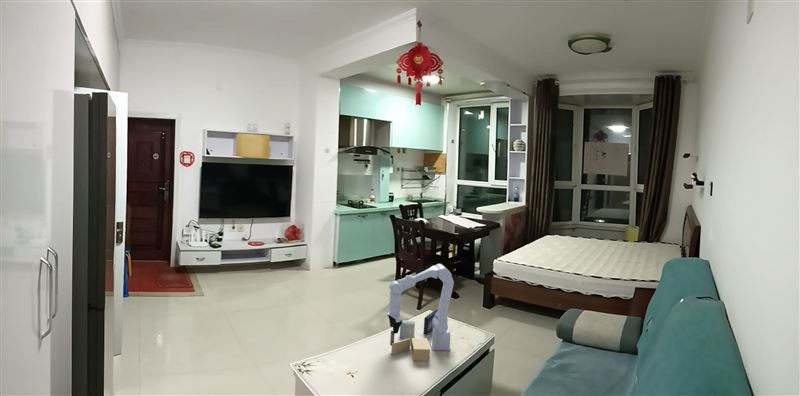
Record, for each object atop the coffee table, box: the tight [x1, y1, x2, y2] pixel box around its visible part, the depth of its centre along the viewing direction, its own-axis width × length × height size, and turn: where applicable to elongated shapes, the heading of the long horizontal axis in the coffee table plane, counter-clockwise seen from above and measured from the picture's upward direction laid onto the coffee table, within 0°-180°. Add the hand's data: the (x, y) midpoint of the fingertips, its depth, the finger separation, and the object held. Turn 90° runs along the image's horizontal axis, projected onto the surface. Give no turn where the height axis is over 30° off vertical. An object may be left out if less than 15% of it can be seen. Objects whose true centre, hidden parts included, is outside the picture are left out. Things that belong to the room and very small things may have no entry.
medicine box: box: [399, 319, 416, 340], centre depth 222 cm, size 8×4×9 cm, turn 84°
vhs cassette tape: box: [423, 308, 438, 335], centre depth 233 cm, size 18×3×10 cm, turn 147°
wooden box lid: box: [389, 330, 412, 355], centre depth 206 cm, size 5×12×10 cm, turn 127°
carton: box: [410, 337, 431, 362], centre depth 202 cm, size 8×12×6 cm, turn 4°
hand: (394, 329), depth 206 cm, fingers open, 7 cm apart
